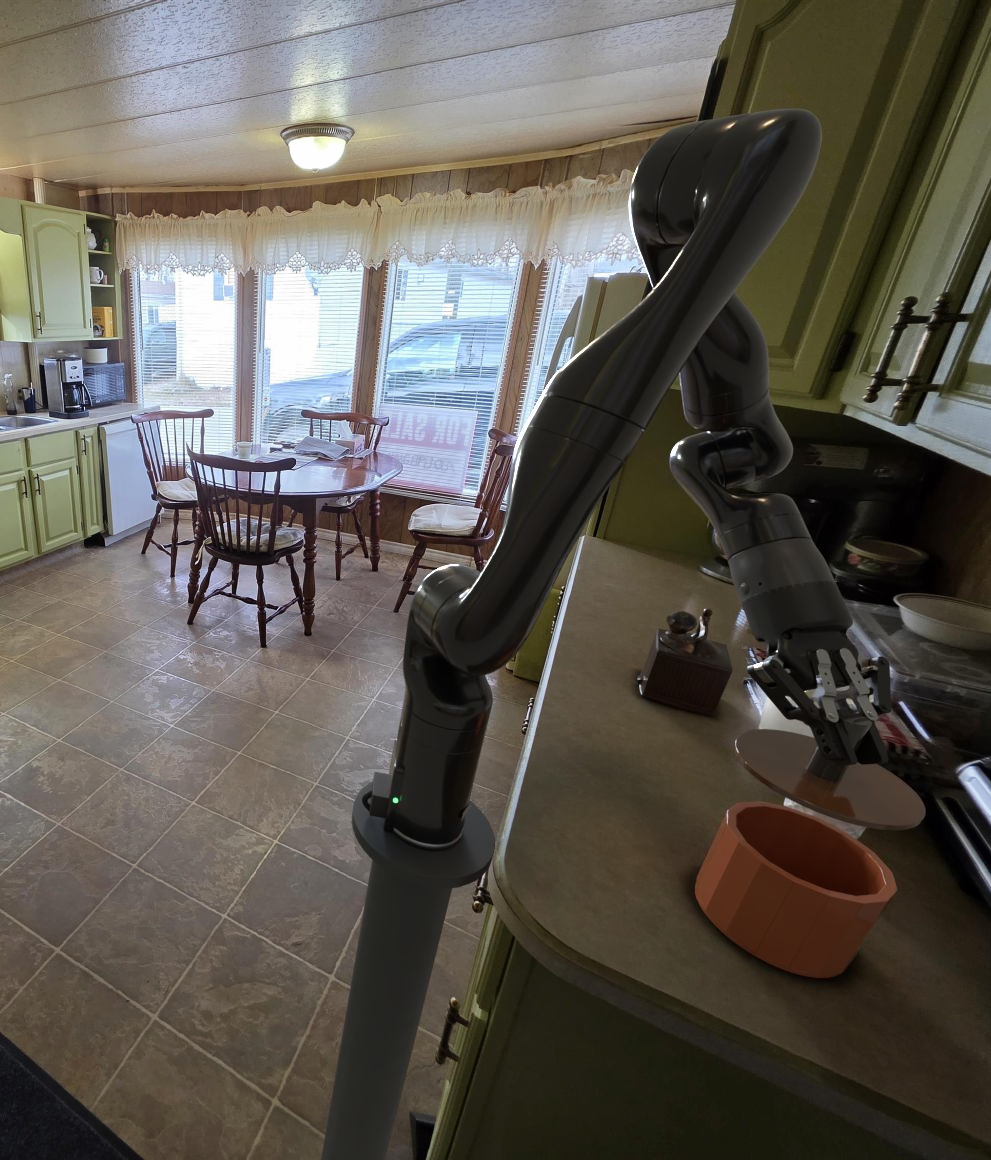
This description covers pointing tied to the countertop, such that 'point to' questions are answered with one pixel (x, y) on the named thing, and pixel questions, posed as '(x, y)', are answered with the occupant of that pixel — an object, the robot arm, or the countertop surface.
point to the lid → (830, 777)
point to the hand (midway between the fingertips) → (858, 763)
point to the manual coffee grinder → (686, 666)
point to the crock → (792, 888)
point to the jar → (777, 721)
